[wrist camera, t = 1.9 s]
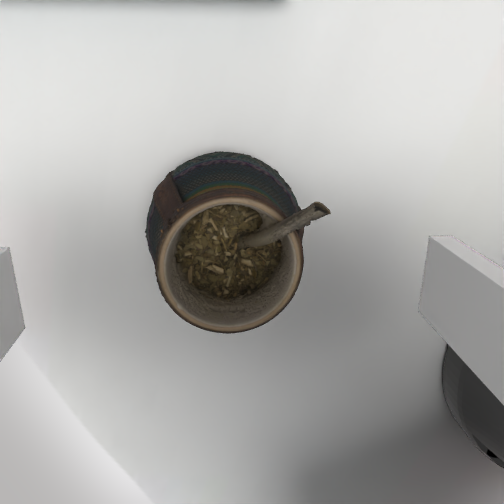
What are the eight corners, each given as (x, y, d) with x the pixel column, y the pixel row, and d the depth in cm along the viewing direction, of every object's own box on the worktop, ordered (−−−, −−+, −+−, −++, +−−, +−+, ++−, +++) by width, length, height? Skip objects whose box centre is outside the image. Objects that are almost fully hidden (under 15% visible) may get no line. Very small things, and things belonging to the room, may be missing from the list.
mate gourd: (126, 230, 24) (72, 318, 15) (208, 108, 22) (207, 118, 13) (237, 300, 26) (254, 417, 16) (320, 192, 24) (391, 254, 15)
